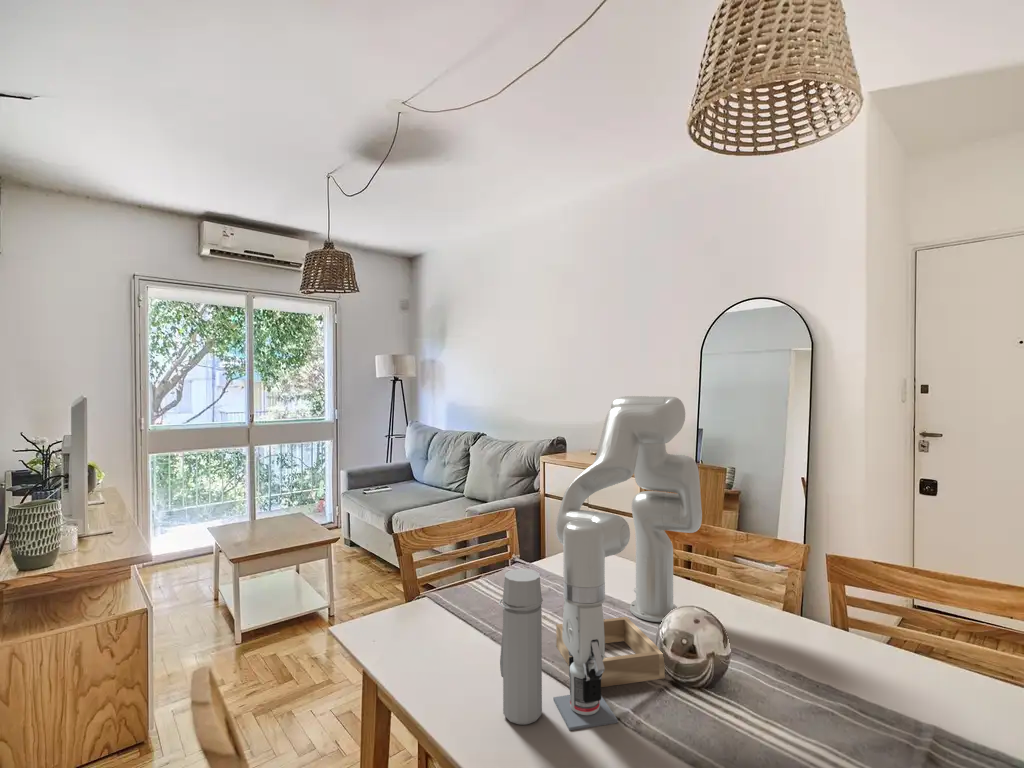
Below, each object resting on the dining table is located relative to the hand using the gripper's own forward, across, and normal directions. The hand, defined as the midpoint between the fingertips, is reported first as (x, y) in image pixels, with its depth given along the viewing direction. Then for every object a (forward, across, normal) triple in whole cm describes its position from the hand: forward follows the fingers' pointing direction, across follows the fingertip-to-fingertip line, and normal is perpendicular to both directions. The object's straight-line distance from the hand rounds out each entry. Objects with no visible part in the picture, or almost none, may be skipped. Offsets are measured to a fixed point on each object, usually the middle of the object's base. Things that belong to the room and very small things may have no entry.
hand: (584, 688), depth 94 cm
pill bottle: (+4, 0, 0) cm, 4 cm away
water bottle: (+4, -2, -12) cm, 13 cm away
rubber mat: (+4, 0, 0) cm, 4 cm away
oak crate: (+4, -15, +11) cm, 19 cm away
